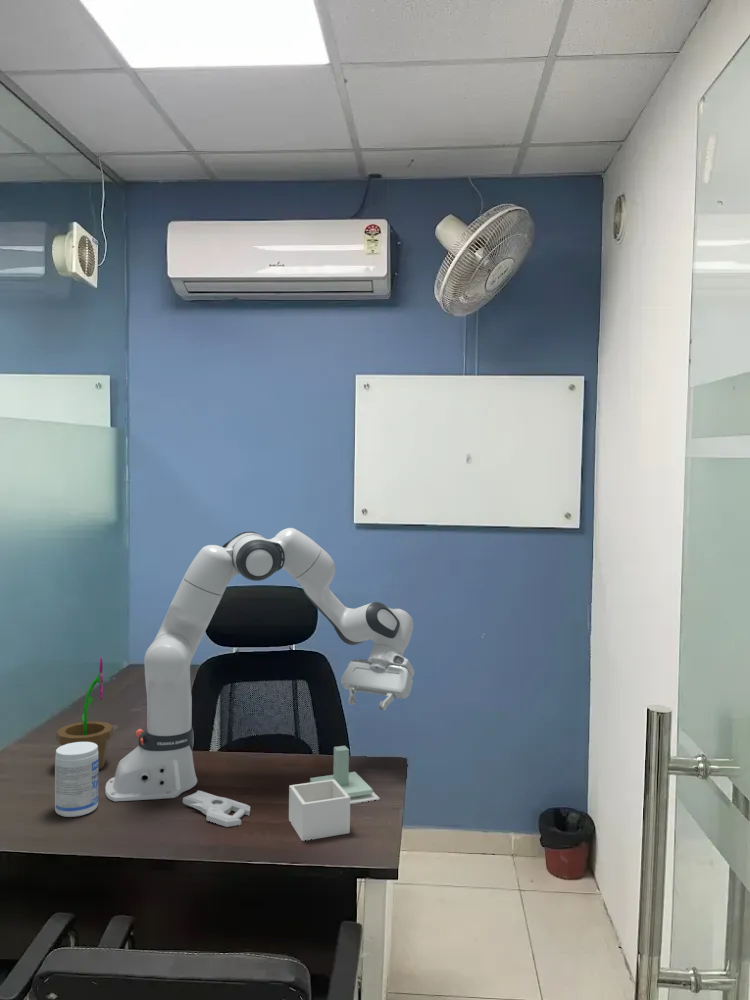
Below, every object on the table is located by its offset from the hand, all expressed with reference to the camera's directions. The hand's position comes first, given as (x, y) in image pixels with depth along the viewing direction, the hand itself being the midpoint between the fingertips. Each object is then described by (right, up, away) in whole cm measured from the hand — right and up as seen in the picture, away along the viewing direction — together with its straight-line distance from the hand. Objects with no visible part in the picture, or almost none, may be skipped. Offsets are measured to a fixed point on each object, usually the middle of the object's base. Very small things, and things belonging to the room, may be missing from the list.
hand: (366, 706), depth 196 cm
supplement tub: (-68, -18, -23) cm, 74 cm away
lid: (-6, -18, -10) cm, 22 cm away
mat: (-6, -19, -10) cm, 22 cm away
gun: (-35, -19, -23) cm, 46 cm away
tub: (-10, -19, -29) cm, 37 cm away
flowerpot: (-77, -18, +4) cm, 79 cm away
